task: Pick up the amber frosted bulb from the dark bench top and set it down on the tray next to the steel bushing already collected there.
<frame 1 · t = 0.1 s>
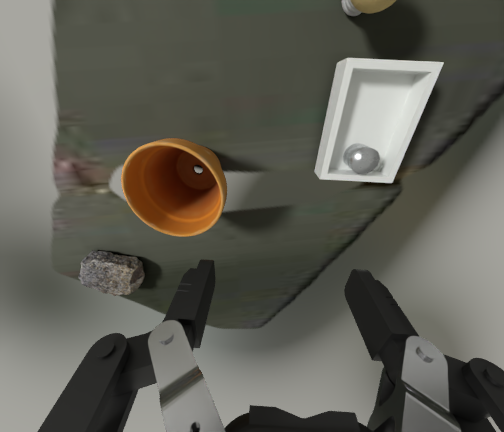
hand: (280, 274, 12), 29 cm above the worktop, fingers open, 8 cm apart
rock: (120, 264, 53), on the worktop
steel bushing: (355, 155, 34), point 2 cm above the worktop, touching tray
tray: (357, 125, 34), on the worktop
flower pot: (198, 167, 39), on the worktop
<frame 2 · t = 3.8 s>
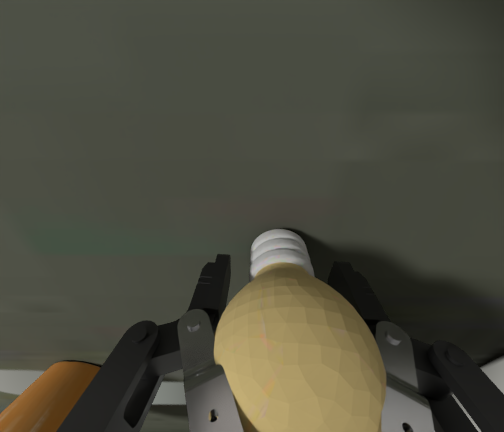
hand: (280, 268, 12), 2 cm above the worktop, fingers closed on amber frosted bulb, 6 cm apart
amber frosted bulb: (277, 244, 14), on the worktop, touching gripper
flower pot: (87, 373, 27), on the worktop
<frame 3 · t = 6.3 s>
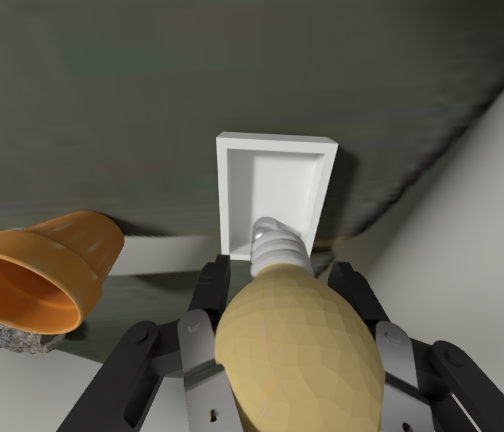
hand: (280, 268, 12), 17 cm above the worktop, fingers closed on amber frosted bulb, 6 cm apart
rock: (41, 317, 48), on the worktop
steel bushing: (266, 228, 28), point 2 cm above the worktop, touching tray
amber frosted bulb: (277, 245, 14), point 15 cm above the worktop, touching gripper
tray: (268, 192, 28), on the worktop
flower pot: (98, 231, 33), on the worktop
when the fingers open (6 cm above the worktop, at t = 9.2 s): amber frosted bulb drops 1 cm, resting on tray.
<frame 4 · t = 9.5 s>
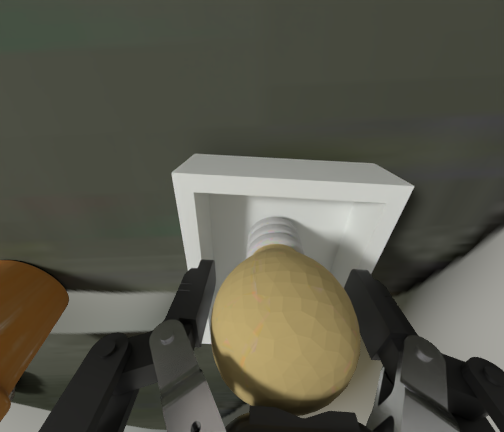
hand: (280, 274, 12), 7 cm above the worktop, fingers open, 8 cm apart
amber frosted bulb: (272, 232, 15), point 2 cm above the worktop, touching tray
tray: (271, 240, 19), on the worktop
flower pot: (31, 284, 24), on the worktop
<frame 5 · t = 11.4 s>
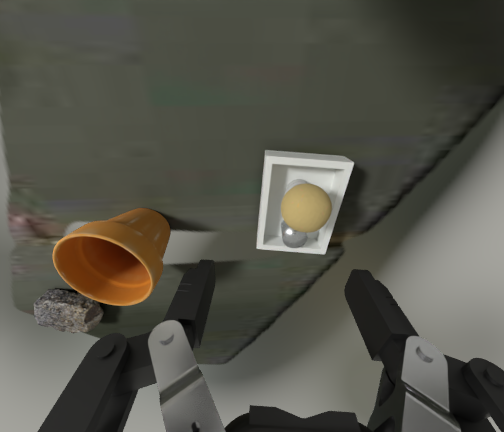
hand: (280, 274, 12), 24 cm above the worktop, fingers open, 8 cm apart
rock: (80, 300, 53), on the worktop
steel bushing: (291, 225, 35), point 2 cm above the worktop, touching tray
amber frosted bulb: (297, 188, 32), point 2 cm above the worktop, touching tray
tray: (294, 196, 35), on the worktop
flower pot: (149, 226, 40), on the worktop
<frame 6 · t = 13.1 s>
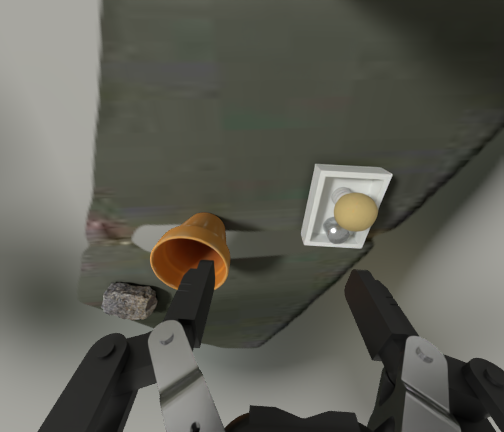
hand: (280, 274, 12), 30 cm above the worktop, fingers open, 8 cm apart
rock: (136, 292, 61), on the worktop
steel bushing: (332, 224, 42), point 2 cm above the worktop, touching tray
amber frosted bulb: (339, 194, 39), point 2 cm above the worktop, touching tray
tray: (334, 200, 42), on the worktop
flower pot: (206, 227, 47), on the worktop
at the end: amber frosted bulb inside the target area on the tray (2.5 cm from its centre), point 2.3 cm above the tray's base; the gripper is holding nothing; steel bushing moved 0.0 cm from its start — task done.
